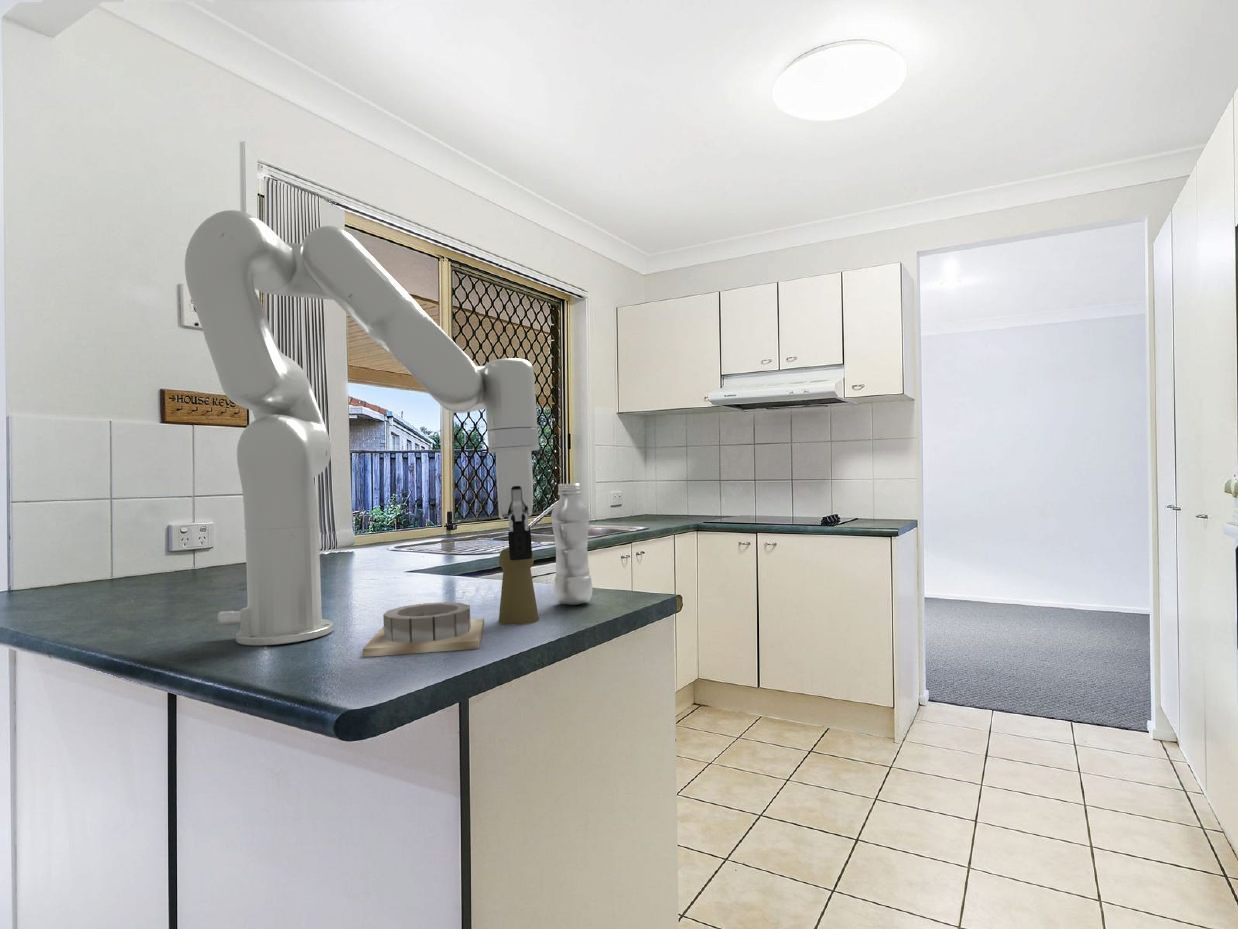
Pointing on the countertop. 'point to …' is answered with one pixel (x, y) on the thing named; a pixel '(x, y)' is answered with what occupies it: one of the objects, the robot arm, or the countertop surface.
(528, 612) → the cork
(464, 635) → the ring collar
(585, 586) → the plastic bottle
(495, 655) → the countertop surface
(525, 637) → the countertop surface
